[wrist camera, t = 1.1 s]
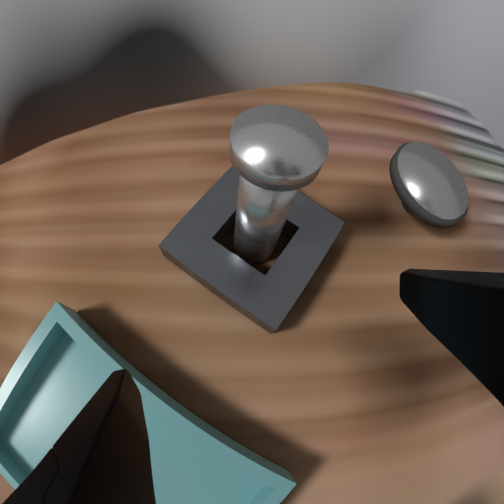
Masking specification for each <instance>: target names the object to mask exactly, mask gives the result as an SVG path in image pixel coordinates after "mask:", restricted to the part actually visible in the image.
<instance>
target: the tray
mask: <svg viewBox="0 0 504 504" xmlns="http://www.w3.org/2000/svg"><path fill="white" fill-rule="evenodd" d="M120 369H127V370H128V371H129V373H130V374H131V376H132V378H133V380H134V382H135V383H136V385H137V387H138V389H139V391H140V393H141V398H142V404H143V410H144V416H145V421H146V426H147V431H148V437H149V445H150V456H151V467H152V476H153V485H154V492H155V500H156V504H280V503H281V502H282V501H283V499H284V498H285V497H286V496H287V495H288V494H289V492H290V491H291V490H292V489H293V488H294V486H295V485H296V484H297V483H296V482H295V480H294V479H293V478H292V476H291V475H290V473H289V472H288V470H286V469H284V468H282V467H280V466H278V465H276V464H275V463H273V462H271V461H269V460H267V459H265V458H263V457H262V456H260V455H258V454H256V453H255V452H253V451H251V450H249V449H248V448H246V447H244V446H243V445H241V444H239V443H238V442H236V441H234V440H233V439H231V438H229V437H228V436H226V435H225V434H223V433H222V432H220V431H219V430H217V429H215V428H214V427H212V426H211V425H209V424H208V423H206V422H205V421H204V420H202V419H201V418H199V417H198V416H196V415H195V414H193V413H192V412H191V411H189V410H188V409H186V408H185V407H184V406H182V405H181V404H180V403H178V402H177V401H176V400H174V399H173V398H172V397H170V396H169V395H168V394H166V393H165V392H164V391H163V390H161V389H160V388H159V387H157V386H156V385H155V384H154V383H153V382H151V381H150V380H149V379H148V378H146V377H145V376H144V375H143V374H142V373H140V372H139V371H138V370H137V369H136V368H135V367H133V366H132V365H131V364H130V363H129V362H128V361H127V360H125V359H124V358H123V357H122V356H121V355H120V354H119V353H118V352H117V351H115V350H114V349H113V348H112V347H111V346H110V345H109V344H108V343H107V342H106V341H105V340H104V339H103V338H102V337H101V336H100V335H99V334H97V333H96V332H95V331H94V330H93V329H92V328H91V327H90V326H89V325H88V324H87V323H86V322H85V320H84V319H83V318H82V317H81V316H80V315H79V314H78V313H77V312H76V311H75V310H73V309H71V308H69V307H67V306H65V305H63V304H61V303H59V302H56V303H55V304H54V306H53V307H52V308H51V310H50V311H49V313H48V314H47V315H46V317H45V318H44V320H43V321H42V323H41V324H40V325H39V327H38V328H37V330H36V331H35V333H34V334H33V336H32V337H31V339H30V340H29V342H28V343H27V345H26V346H25V348H24V349H23V351H22V353H21V354H20V356H19V357H18V359H17V361H16V362H15V364H14V366H13V367H12V369H11V371H10V372H9V374H8V376H7V377H6V379H5V381H4V383H3V384H2V386H1V388H0V473H1V474H2V476H3V477H4V478H5V479H6V480H7V481H8V482H9V484H10V485H11V486H12V487H13V488H14V489H16V488H17V487H18V486H19V485H20V484H21V483H22V482H23V481H24V480H25V479H26V478H27V476H28V475H29V474H30V473H31V472H32V471H33V470H34V469H35V467H36V466H37V465H38V464H39V462H40V461H41V460H42V459H43V458H44V456H45V455H46V454H47V452H48V451H49V450H50V449H51V448H53V445H54V444H55V442H56V441H57V440H58V439H59V437H60V436H61V435H62V433H63V432H64V431H65V430H66V428H67V427H68V426H69V425H70V423H71V422H72V421H73V420H74V419H75V417H76V416H77V415H78V414H79V412H80V411H81V410H82V409H83V407H84V406H85V405H86V404H87V403H88V401H89V400H90V399H91V398H92V396H93V395H94V394H95V393H96V392H97V390H98V389H99V388H100V387H101V385H102V384H103V383H104V382H105V381H106V379H107V378H108V377H109V376H110V375H111V373H112V372H113V371H116V370H120Z"/></svg>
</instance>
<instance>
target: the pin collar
mask: <svg viewBox="0 0 504 504" xmlns="http://www.w3.org/2000/svg"><path fill="white" fill-rule="evenodd" d="M239 178H240V174H239V173H238V172H237V171H236V170H235V168H234V167H233V166H232V167H231V168H230V169H229V170H228V171H227V172H226V173H225V174H224V175H223V176H222V177H221V178H220V179H219V180H218V181H217V182H216V183H215V184H214V185H213V186H212V187H211V188H210V189H209V190H208V191H207V193H206V194H205V195H204V196H203V197H202V198H201V199H200V200H199V201H198V202H197V203H196V204H195V205H194V206H193V208H192V209H191V210H190V211H189V212H188V213H187V214H186V215H185V216H184V217H183V218H182V220H181V221H180V222H179V223H178V224H177V225H176V226H175V227H174V229H173V230H172V231H171V232H170V233H169V234H168V235H167V236H166V238H165V239H164V240H163V241H162V242H161V243H160V244H159V247H160V249H161V251H162V253H163V255H164V256H165V257H166V258H167V259H169V260H170V261H171V262H173V263H174V264H175V265H177V266H178V267H179V268H180V269H182V270H183V271H184V272H186V273H187V274H188V275H190V276H191V277H192V278H194V279H195V280H196V281H198V282H199V283H200V284H202V285H203V286H205V287H206V288H207V289H209V290H210V291H211V292H213V293H214V294H215V295H217V296H218V297H220V298H221V299H222V300H224V301H225V302H227V303H228V304H229V305H231V306H232V307H233V308H235V309H236V310H238V311H239V312H241V313H242V314H243V315H245V316H246V317H248V318H249V319H251V320H252V321H253V322H255V323H256V324H258V325H259V326H261V327H262V328H263V329H265V330H266V331H268V332H269V333H271V334H272V333H273V332H275V331H276V330H277V329H278V327H279V326H280V324H281V323H282V321H283V320H284V318H285V317H286V315H287V314H288V312H289V311H290V309H291V308H292V306H293V305H294V303H295V302H296V300H297V299H298V297H299V296H300V294H301V293H302V291H303V290H304V288H305V286H306V285H307V283H308V282H309V280H310V279H311V277H312V276H313V274H314V272H315V271H316V269H317V268H318V266H319V265H320V263H321V261H322V260H323V258H324V257H325V255H326V253H327V252H328V250H329V248H330V247H331V245H332V244H333V242H334V240H335V239H336V237H337V235H338V234H339V232H340V230H341V229H342V227H343V225H344V224H345V222H343V221H342V220H341V219H339V218H338V217H336V216H335V215H333V214H332V213H330V212H329V211H327V210H326V209H324V208H323V207H321V206H320V205H318V204H317V203H315V202H314V201H312V200H310V199H309V198H307V197H306V196H304V195H303V194H301V193H300V192H297V194H296V197H295V199H294V202H293V204H292V207H291V209H290V212H289V214H288V217H287V219H286V221H285V224H284V226H283V229H282V231H283V232H285V233H286V234H288V235H289V236H291V237H292V239H291V241H290V242H289V243H288V245H287V246H286V248H285V249H284V250H283V252H282V253H281V255H280V256H279V257H278V259H277V260H276V262H275V263H274V264H273V266H272V267H271V268H270V270H269V271H268V273H267V274H266V275H264V274H262V273H261V272H259V271H258V270H256V269H255V268H253V267H252V266H251V265H249V264H248V263H246V262H245V261H243V260H242V259H240V258H239V257H238V256H236V255H235V254H233V253H232V252H230V251H229V250H228V249H226V248H225V247H223V246H222V245H220V244H219V243H218V242H219V241H220V239H221V238H222V237H223V236H224V235H225V233H226V232H227V231H228V230H229V229H230V227H231V226H232V225H233V224H234V223H235V220H236V209H237V198H238V188H239Z"/></svg>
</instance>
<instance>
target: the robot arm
mask: <svg viewBox="0 0 504 504" xmlns="http://www.w3.org/2000/svg"><path fill="white" fill-rule="evenodd" d="M400 298H401V300H402V302H403V303H404V304H405V305H406V306H407V307H408V308H409V309H410V311H411V312H412V313H413V314H414V315H415V316H416V317H417V318H418V320H419V321H420V322H421V323H422V324H423V325H424V326H425V328H426V329H427V330H428V331H429V332H430V333H431V334H433V335H434V336H435V337H436V338H437V339H438V340H439V341H440V342H441V343H442V344H443V345H444V346H445V347H446V348H447V349H448V350H449V351H450V352H451V353H452V354H453V355H454V356H455V357H456V358H457V359H458V360H459V361H460V362H461V363H462V364H463V365H464V366H465V367H466V368H467V369H468V370H469V371H470V372H471V373H472V374H473V375H474V376H475V377H476V378H477V379H478V380H479V381H480V382H481V383H482V384H483V385H484V386H485V387H486V388H487V389H488V390H489V391H490V392H491V393H492V394H493V395H494V396H495V397H496V399H497V400H498V401H499V402H500V403H501V404H502V405H503V406H504V273H494V272H471V271H449V270H428V269H408V270H406V271H404V272H402V273H401V275H400ZM2 504H156V500H155V492H154V485H153V476H152V467H151V456H150V445H149V437H148V431H147V426H146V421H145V416H144V410H143V404H142V398H141V393H140V391H139V389H138V387H137V385H136V383H135V382H134V380H133V378H132V376H131V374H130V373H129V371H128V370H127V369H120V370H116V371H113V372H112V373H111V375H110V376H109V377H108V378H107V379H106V381H105V382H104V383H103V384H102V385H101V387H100V388H99V389H98V390H97V392H96V393H95V394H94V395H93V396H92V398H91V399H90V400H89V401H88V403H87V404H86V405H85V406H84V407H83V409H82V410H81V411H80V412H79V414H78V415H77V416H76V417H75V419H74V420H73V421H72V422H71V423H70V425H69V426H68V427H67V428H66V430H65V431H64V432H63V433H62V435H61V436H60V437H59V439H58V440H57V441H56V442H55V444H54V445H53V448H51V449H50V450H49V451H48V452H47V454H46V455H45V456H44V458H43V459H42V460H41V461H40V462H39V464H38V465H37V466H36V467H35V469H34V470H33V471H32V472H31V473H30V474H29V475H28V476H27V478H26V479H25V480H24V481H23V482H22V483H21V484H20V485H19V486H18V487H17V488H16V489H15V491H14V492H13V493H12V494H11V495H10V496H9V497H8V498H7V499H6V500H5V501H4V502H3V503H2Z"/></svg>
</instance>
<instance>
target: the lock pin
mask: <svg viewBox="0 0 504 504" xmlns="http://www.w3.org/2000/svg"><path fill="white" fill-rule="evenodd" d="M328 149H329V144H328V139H327V136H326V134H325V132H324V130H323V129H322V127H321V126H320V125H319V124H318V123H317V122H316V121H315V120H314V119H313V118H311V117H310V116H308V115H307V114H305V113H303V112H301V111H299V110H297V109H294V108H291V107H287V106H282V105H261V106H256V107H253V108H250V109H248V110H246V111H244V112H243V113H241V114H240V115H239V116H238V117H237V118H236V119H235V121H234V122H233V124H232V127H231V131H230V148H229V154H230V159H231V162H232V165H233V167H234V168H235V170H236V171H237V172H238V173H239V174H240V178H239V188H238V198H237V209H236V220H235V231H234V242H233V245H234V250H235V252H236V254H237V255H238V256H239V257H240V258H241V259H242V260H244V261H246V262H249V263H260V262H263V261H265V260H267V259H268V258H269V257H270V256H271V254H272V253H273V250H274V248H275V246H276V243H277V241H278V238H279V236H280V234H281V231H282V229H283V226H284V224H285V221H286V219H287V217H288V214H289V212H290V209H291V207H292V204H293V202H294V199H295V197H296V194H297V192H298V190H299V189H301V188H303V187H305V186H307V185H309V184H310V183H311V182H312V181H314V179H315V178H316V177H317V175H318V174H319V172H320V170H321V167H322V165H323V163H324V161H325V159H326V156H327V154H328Z"/></svg>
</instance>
